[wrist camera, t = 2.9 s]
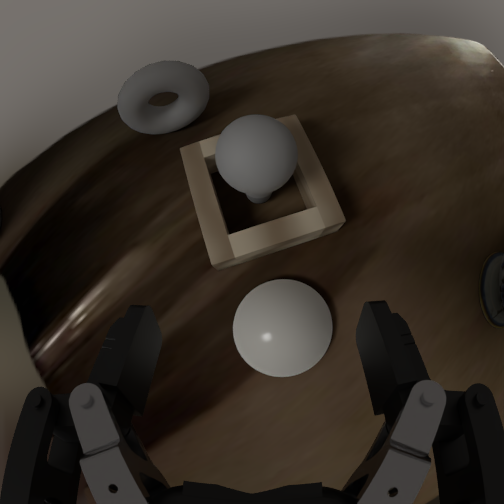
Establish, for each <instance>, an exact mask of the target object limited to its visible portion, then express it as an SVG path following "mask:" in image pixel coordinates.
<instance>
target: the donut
mask: <svg viewBox="0 0 504 504" xmlns="http://www.w3.org/2000/svg"><path fill="white" fill-rule="evenodd" d="M162 92H174V93H177V94H178V95H179V97H178V98H177V100H176V101H174V102H173V103H171V104H169V105H166V106H160V107H157V106H152V105H150V104H149V103H148V101H149V99H151V98H152V97H153V96H154V95H156V94H158V93H162ZM208 100H209V84H208V82H207V80H206V78H205V76H204V75H203V73H202V72H200V71H199V70H198V69H196V68H195V67H194V66H192V65H189V64H186V63H183V62H180V61H161V62H157V63H153V64H149V65H147V66H145V67H143V68H142V69H140V70H138V71H136V72H135V73H134V74H133V75H132V76H131V77H130V78H129V79H128V80H127V81H126V82H125V83H124V85H123V87H122V89H121V91H120V93H119V95H118V106H117V108H118V111H119V114H120V116H121V119H122V120H123V121H124V122H125V123H126V124H127V125H128V126H129V127H130V128H131V129H134V130H136V131H138V132H141V133H147V134H165V133H169V132H173V131H177V130H179V129H181V128H183V127H186V126H187V125H189V124H190V123H191V122H193V121H194V120H196V119H197V118H198V117H199V116H200V115H201V113H202V112H203V111H204V110H205V107H206V105H207V103H208Z"/></svg>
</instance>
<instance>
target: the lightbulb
mask: <svg viewBox="0 0 504 504" xmlns="http://www.w3.org/2000/svg"><path fill="white" fill-rule="evenodd" d="M297 159H298V150H297V145H296V142H295V139H294V137H293V135H292V134H291V132H290V130H289V129H288V128H287V127H286V126H285V125H284V124H282V123H281V122H280V121H278V120H276V119H274V118H272V117H269V116H266V115H247V116H244V117H241V118H238V119H236V120H235V121H233V122H232V123H230V124H229V125H228V126H227V127H226V128H225V129H224V130H223V131H222V133H221V135H220V136H219V139H218V141H217V144H216V150H215V160H216V165H217V168H218V170H219V173H220V175H221V176H222V177H223V179H224V180H225V181H226V182H227V183H228V184H229V185H230V186H232V187H233V188H235V189H236V190H238V191H241V192H243V193H246V195H247V197H248V199H249V200H250V201H252V202H254V203H264V202H266V201H267V200H268V199H269V198H270V197H271V194H272V191H275V190H277V189H278V188H280V187H282V186H283V185H284V184H285V183H286V182H287V181H288V180H289V178H290V177H291V176H292V174H293V173H294V170H295V168H296V165H297Z"/></svg>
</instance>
